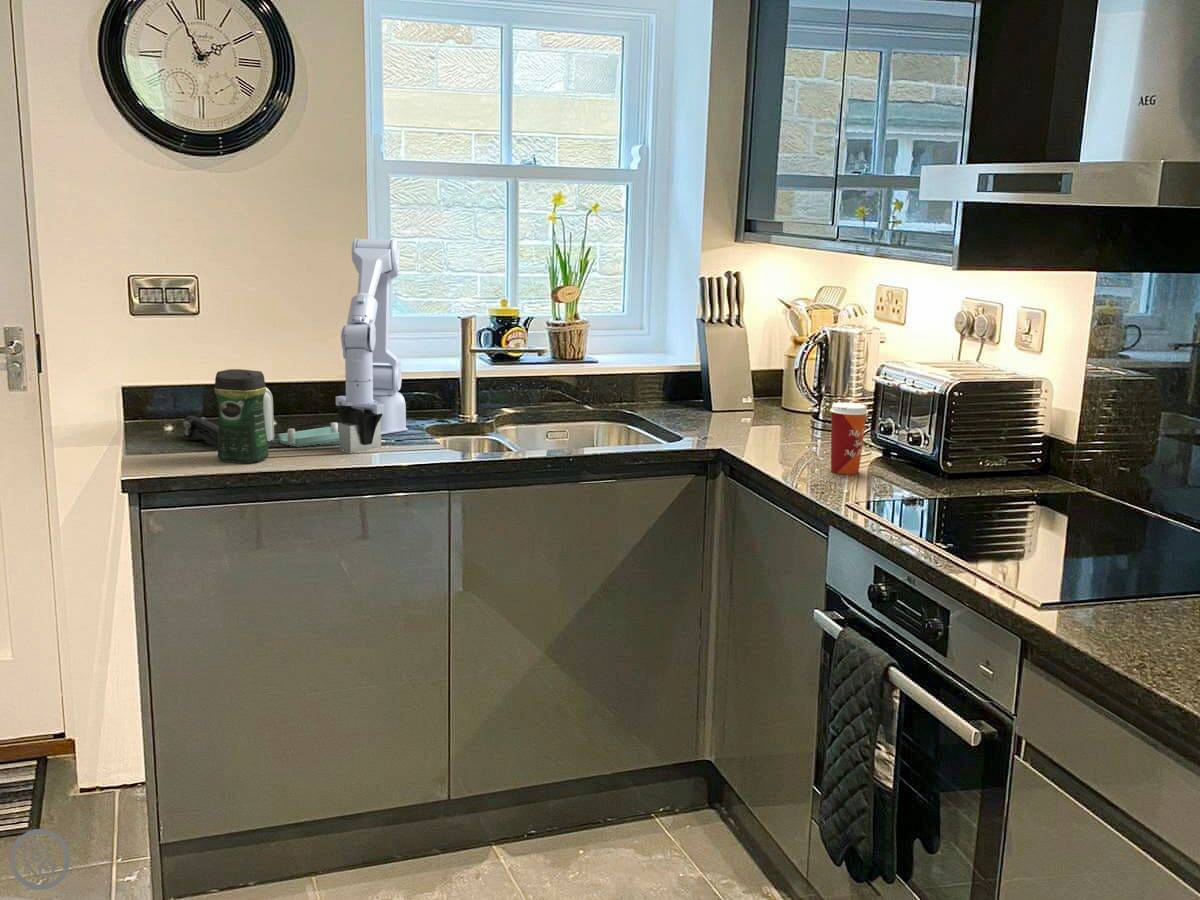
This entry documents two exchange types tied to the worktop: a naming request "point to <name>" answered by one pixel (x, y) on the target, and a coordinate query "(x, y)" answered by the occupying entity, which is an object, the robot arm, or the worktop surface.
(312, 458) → the worktop surface
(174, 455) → the worktop surface
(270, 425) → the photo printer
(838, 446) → the paper cup
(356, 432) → the light grey rectangular block
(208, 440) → the can opener
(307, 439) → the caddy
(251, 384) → the coffee jar
